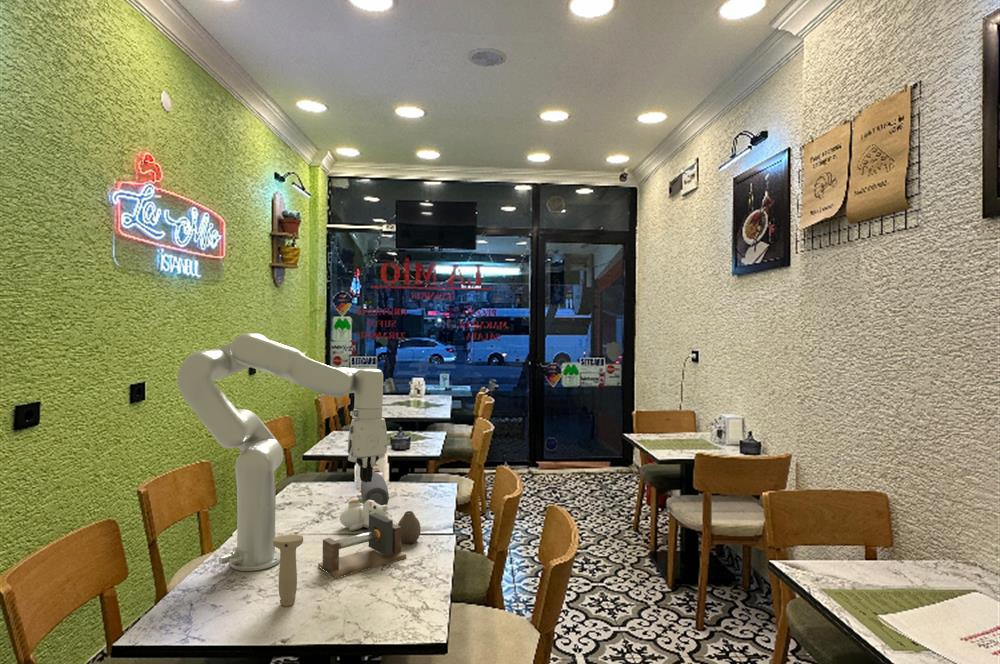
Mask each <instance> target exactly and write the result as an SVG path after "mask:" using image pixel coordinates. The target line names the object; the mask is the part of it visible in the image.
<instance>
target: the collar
mask: <svg viewBox="0 0 1000 664" xmlns="http://www.w3.org/2000/svg"><path fill="white" fill-rule="evenodd" d="M393 521H394V520H392V519H390V518H389V517H388V518H385V517H383V516H381V515H378V514H376V513H373V514H369V528H368V532H371V531H374V530H375V529H380V530H381V539H380V540H373V541H369V542H368V547H369V549H374V550H376V551H378V552H380V553H382V554H384V555H390V554H392V537H393V524H394V522H393Z"/></svg>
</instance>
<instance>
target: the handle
mask: <svg viewBox="0 0 1000 664" xmlns="http://www.w3.org/2000/svg"><path fill="white" fill-rule="evenodd" d="M303 543H304V536H303V535H301V534H284V535H279V536H275V538H274V539H273V545H274V546H275V549H279V550H280V552H279V553H280V562H279V570H278V595H279V598H280V599H279V604H280V606H283V607H286V608H287V607H290V606H293V605H294V604H295V602H296V595H297V588H298V587H297V586H298V570H297V569H298V568H297V548H298V547H300V546H302V544H303Z"/></svg>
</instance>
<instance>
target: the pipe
mask: <svg viewBox="0 0 1000 664" xmlns="http://www.w3.org/2000/svg"><path fill="white" fill-rule="evenodd" d="M380 539H381V530H380V529H375V530H374V531H371V532H369V531H368V532H364V533H360V534H359V533H358V534H356V535H352V536H347V537H344V538H339V539H336V540H335V539H334V540H335V541H337V542H339V550H341V549H346V548H350V547H354V546H357V545H360V544H361V545H362V544H365V543H369V541H373V540H380Z"/></svg>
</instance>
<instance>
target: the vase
mask: <svg viewBox="0 0 1000 664" xmlns="http://www.w3.org/2000/svg"><path fill="white" fill-rule="evenodd" d="M397 525H398V526H400V527H401V544H405V543H406V545H407V544H408V545H409V543H412V544H415V543H416V542H417V541H418V540H419V538H420V536H421V523H420V520H419V519H418V518H417V516H416V515H415V513H414V511H412V510H406V511H404V513H403V516H402V517H401V518H400V520H399V521H398V524H397ZM414 542H415V543H414Z"/></svg>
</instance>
